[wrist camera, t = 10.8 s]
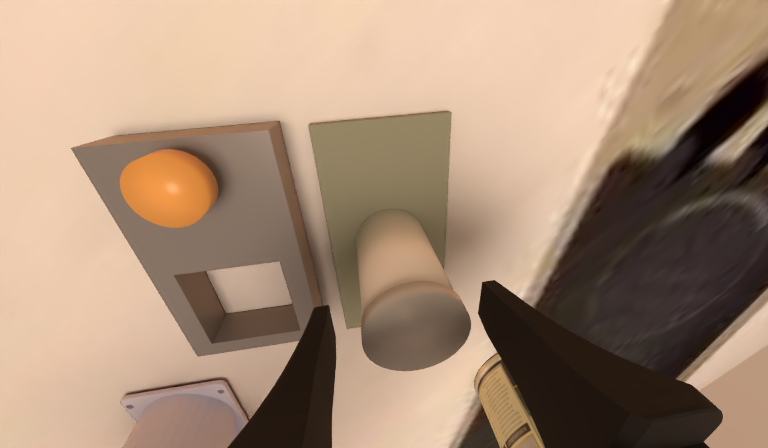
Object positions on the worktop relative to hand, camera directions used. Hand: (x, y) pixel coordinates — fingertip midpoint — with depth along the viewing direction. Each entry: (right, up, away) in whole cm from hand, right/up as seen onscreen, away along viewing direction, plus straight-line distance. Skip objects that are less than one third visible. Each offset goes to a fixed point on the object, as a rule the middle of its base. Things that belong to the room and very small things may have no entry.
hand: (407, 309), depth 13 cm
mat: (-1, +3, +6) cm, 7 cm away
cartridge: (-1, +3, +5) cm, 6 cm away
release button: (-10, +7, +1) cm, 12 cm away
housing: (-10, +3, +4) cm, 11 cm away
